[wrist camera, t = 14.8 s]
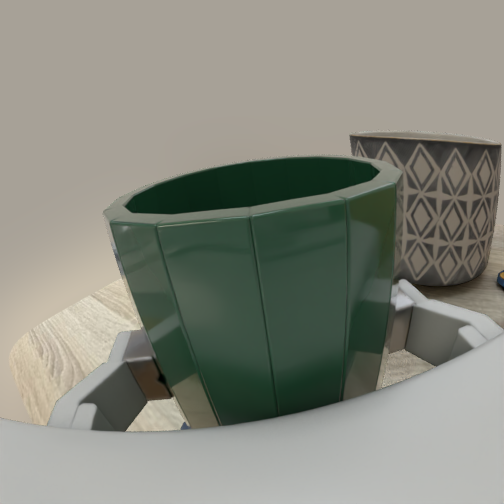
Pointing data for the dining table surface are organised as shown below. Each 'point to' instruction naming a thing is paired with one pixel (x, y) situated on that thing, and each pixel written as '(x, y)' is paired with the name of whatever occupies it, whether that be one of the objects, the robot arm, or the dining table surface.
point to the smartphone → (501, 278)
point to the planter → (441, 200)
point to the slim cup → (264, 282)
